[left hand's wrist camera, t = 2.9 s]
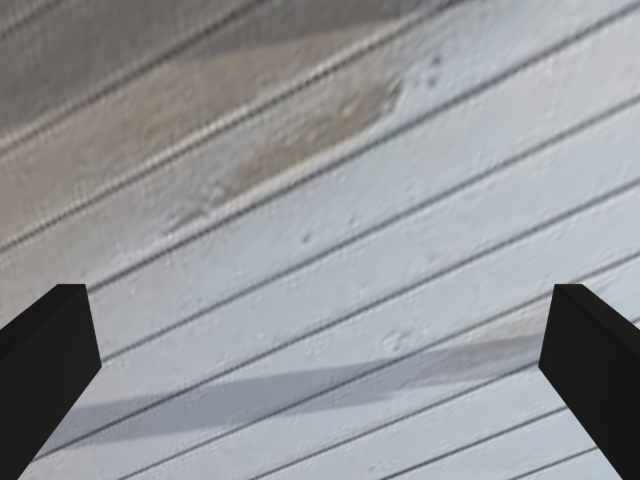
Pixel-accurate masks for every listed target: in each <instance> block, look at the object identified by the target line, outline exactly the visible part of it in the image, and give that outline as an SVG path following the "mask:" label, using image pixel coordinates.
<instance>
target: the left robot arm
mask: <svg viewBox="0 0 640 480" xmlns="http://www.w3.org/2000/svg"><path fill="white" fill-rule="evenodd" d="M101 367H102V365H101V360H100V355H99V350H98V345H97V340H96V335H95V330H94V325H93V320H92V315H91V310H90V305H89V300H88V295H87V290H86V285H85V284H57V285H56V286H55V287H53V288H52V289H51V290H50V291H48V292H47V293H46V294H45V295H43V296H42V297H41V298H40V299H38V300H37V301H36V302H35V303H33V304H32V305H31V306H30V307H28V308H27V309H26V310H25V311H23V312H22V313H21V314H19V315H18V316H17V317H16V318H14V319H13V320H12V321H11V322H9V323H8V324H7V325H6V326H4V327H3V328H2V329H1V330H0V480H18V478H19V477H20V476H21V474H22V473H23V472H24V470H25V469H26V468H27V466H28V465H29V464H30V462H31V461H32V460H33V458H34V457H35V456H36V454H37V453H38V452H39V450H40V449H41V448H42V446H43V445H44V444H45V442H46V441H47V440H48V438H49V437H50V436H51V434H52V433H53V431H54V430H55V429H56V427H57V426H58V425H59V423H60V422H61V421H62V419H63V418H64V417H65V415H66V414H67V413H68V411H69V410H70V409H71V407H72V406H73V405H74V403H75V402H76V401H77V399H78V398H79V397H80V395H81V394H82V393H83V391H84V390H85V389H86V387H87V386H88V385H89V383H90V382H91V381H92V379H93V378H94V377H95V375H96V374H97V373H98V371H99V370H100V369H101ZM538 367H539V369H540V370H541V371H542V373H543V374H544V375H545V377H546V378H547V379H548V381H549V382H550V383H551V385H552V386H553V387H554V389H555V390H556V391H557V393H558V394H559V395H560V397H561V398H562V399H563V401H564V402H565V403H566V405H567V406H568V407H569V409H570V410H571V411H572V413H573V414H574V415H575V417H576V418H577V419H578V421H579V422H580V423H581V425H582V426H583V427H584V429H585V430H586V431H587V433H588V434H589V436H590V437H591V438H592V440H593V441H594V442H595V444H596V445H597V446H598V448H599V449H600V450H601V452H602V453H603V454H604V456H605V457H606V458H607V460H608V461H609V462H610V464H611V465H612V466H613V468H614V469H615V470H616V472H617V473H618V474H619V476H620V477H621V478H622V480H640V330H639V329H638V328H637V327H636V326H634V325H633V324H632V323H631V322H629V321H628V320H627V319H626V318H624V317H623V316H622V315H621V314H619V313H618V312H617V311H615V310H614V309H613V308H612V307H610V306H609V305H608V304H607V303H605V302H604V301H603V300H602V299H600V298H599V297H598V296H597V295H595V294H594V293H593V292H592V291H590V290H589V289H588V288H587V287H585V286H584V285H583V284H555V285H554V290H553V295H552V300H551V305H550V310H549V315H548V320H547V325H546V330H545V335H544V340H543V345H542V350H541V355H540V360H539V365H538Z"/></svg>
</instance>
